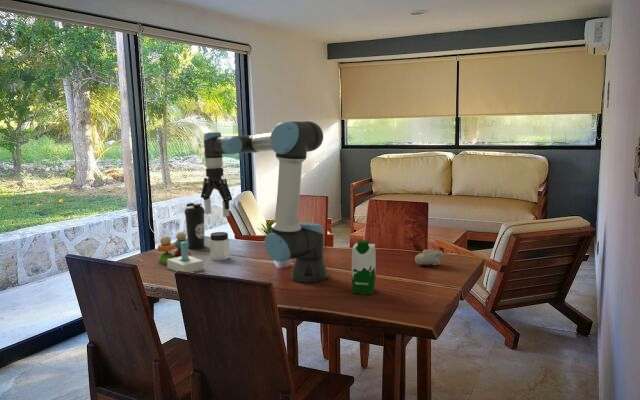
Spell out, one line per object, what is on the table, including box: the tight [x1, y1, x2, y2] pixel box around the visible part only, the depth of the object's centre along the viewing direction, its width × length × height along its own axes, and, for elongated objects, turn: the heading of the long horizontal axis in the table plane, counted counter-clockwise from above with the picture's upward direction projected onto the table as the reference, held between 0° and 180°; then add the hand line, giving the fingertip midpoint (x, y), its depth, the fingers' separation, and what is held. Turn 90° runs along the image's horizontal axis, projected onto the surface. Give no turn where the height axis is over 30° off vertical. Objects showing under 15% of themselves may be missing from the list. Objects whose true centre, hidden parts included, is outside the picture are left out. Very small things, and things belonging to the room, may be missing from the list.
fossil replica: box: [414, 249, 445, 265], centre depth 231 cm, size 12×8×10 cm
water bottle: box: [184, 202, 206, 250], centre depth 269 cm, size 10×10×23 cm
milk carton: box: [351, 239, 377, 295], centre depth 196 cm, size 9×9×20 cm
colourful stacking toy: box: [156, 231, 196, 265], centre depth 246 cm, size 18×17×12 cm
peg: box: [180, 242, 189, 262], centre depth 230 cm, size 3×3×12 cm
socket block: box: [166, 255, 205, 273], centre depth 231 cm, size 14×10×4 cm
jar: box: [209, 231, 230, 261], centre depth 247 cm, size 9×8×12 cm
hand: (217, 215), depth 230 cm, fingers open, 13 cm apart
